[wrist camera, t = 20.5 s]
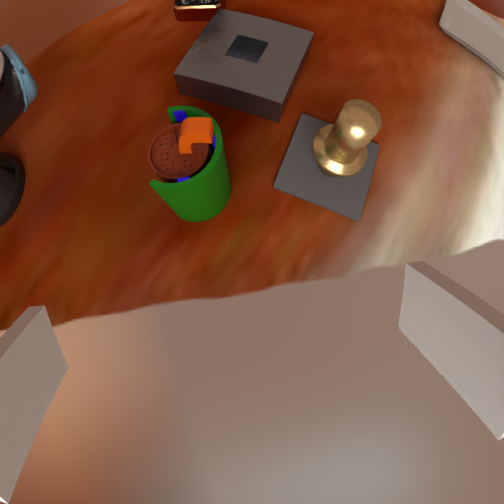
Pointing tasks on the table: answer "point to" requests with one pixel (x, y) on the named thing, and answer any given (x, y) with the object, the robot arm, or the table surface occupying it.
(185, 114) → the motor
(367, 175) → the charcoal mat
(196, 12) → the whiskey bottle
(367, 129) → the brass flanged peg
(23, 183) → the robot arm
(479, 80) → the table surface
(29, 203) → the table surface
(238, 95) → the plate
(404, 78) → the table surface
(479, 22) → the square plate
